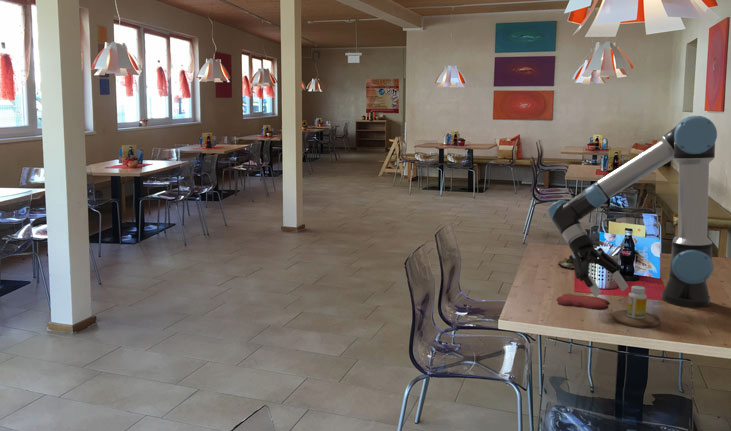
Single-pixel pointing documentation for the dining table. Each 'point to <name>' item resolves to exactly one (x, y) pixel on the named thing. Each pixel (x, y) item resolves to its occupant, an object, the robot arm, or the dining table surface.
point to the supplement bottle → (637, 302)
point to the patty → (583, 301)
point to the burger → (567, 262)
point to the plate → (645, 322)
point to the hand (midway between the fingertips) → (612, 291)
